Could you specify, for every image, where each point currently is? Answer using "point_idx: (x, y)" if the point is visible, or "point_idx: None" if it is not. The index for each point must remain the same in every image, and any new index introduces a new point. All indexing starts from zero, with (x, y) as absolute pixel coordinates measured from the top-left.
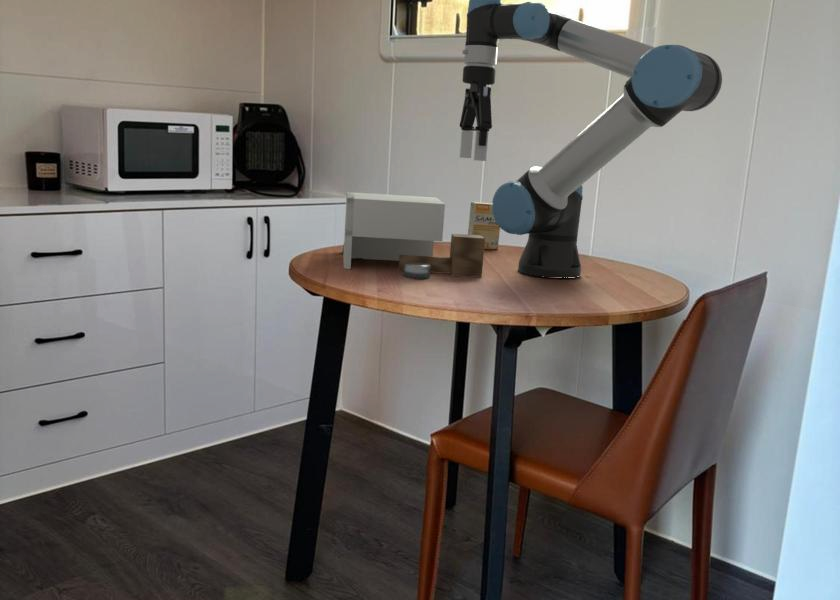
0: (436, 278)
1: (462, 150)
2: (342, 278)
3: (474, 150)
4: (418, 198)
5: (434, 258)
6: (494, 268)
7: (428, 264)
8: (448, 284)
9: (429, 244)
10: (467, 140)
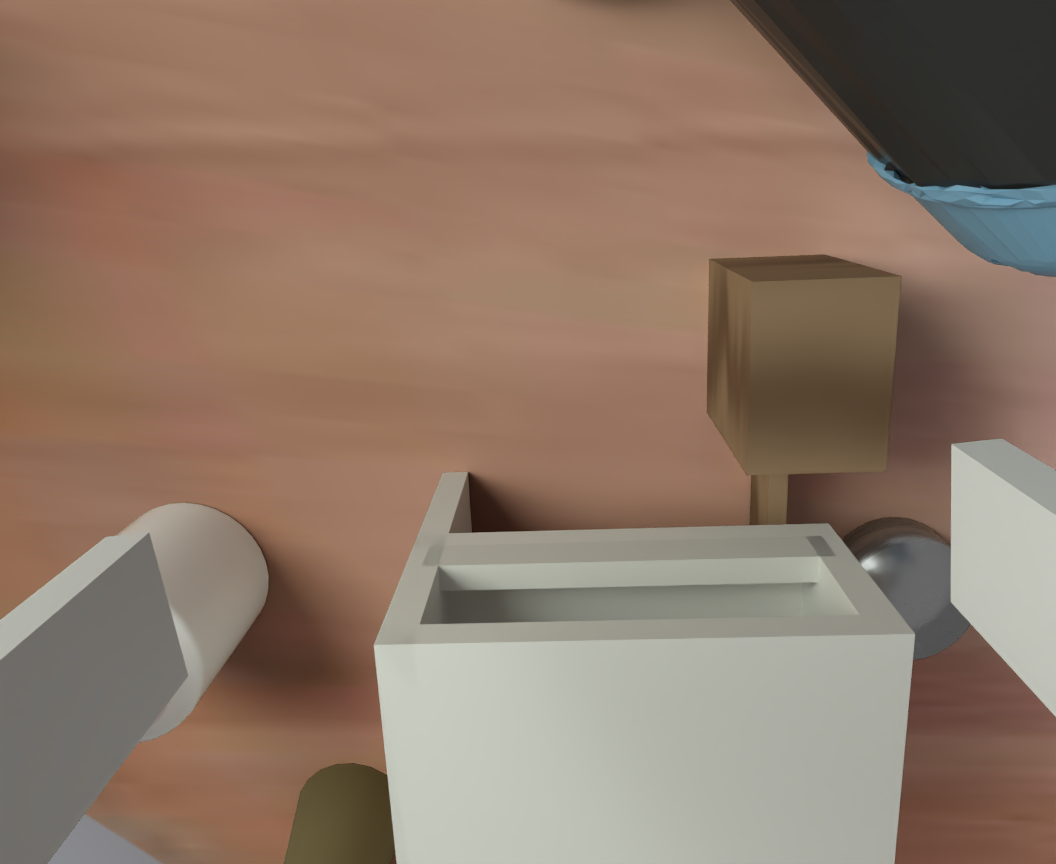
0: (908, 488)
1: (135, 714)
2: (981, 852)
3: (1027, 676)
4: (567, 783)
5: (783, 516)
6: (531, 136)
7: (904, 550)
8: (1049, 446)
9: (459, 527)
10: (17, 760)
